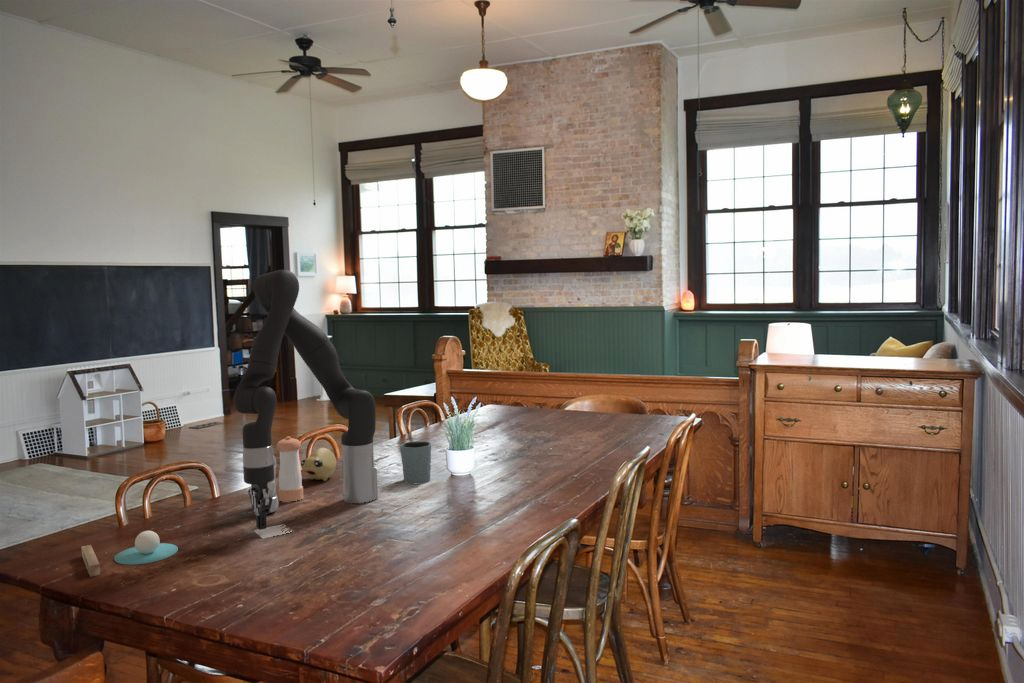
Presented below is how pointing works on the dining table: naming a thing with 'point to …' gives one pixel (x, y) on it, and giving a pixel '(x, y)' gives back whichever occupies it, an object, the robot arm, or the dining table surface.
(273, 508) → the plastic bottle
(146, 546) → the ball
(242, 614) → the dining table surface
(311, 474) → the yellow plush toy
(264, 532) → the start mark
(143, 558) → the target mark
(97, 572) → the bar
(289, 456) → the pepper shaker
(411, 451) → the dark grey pot
